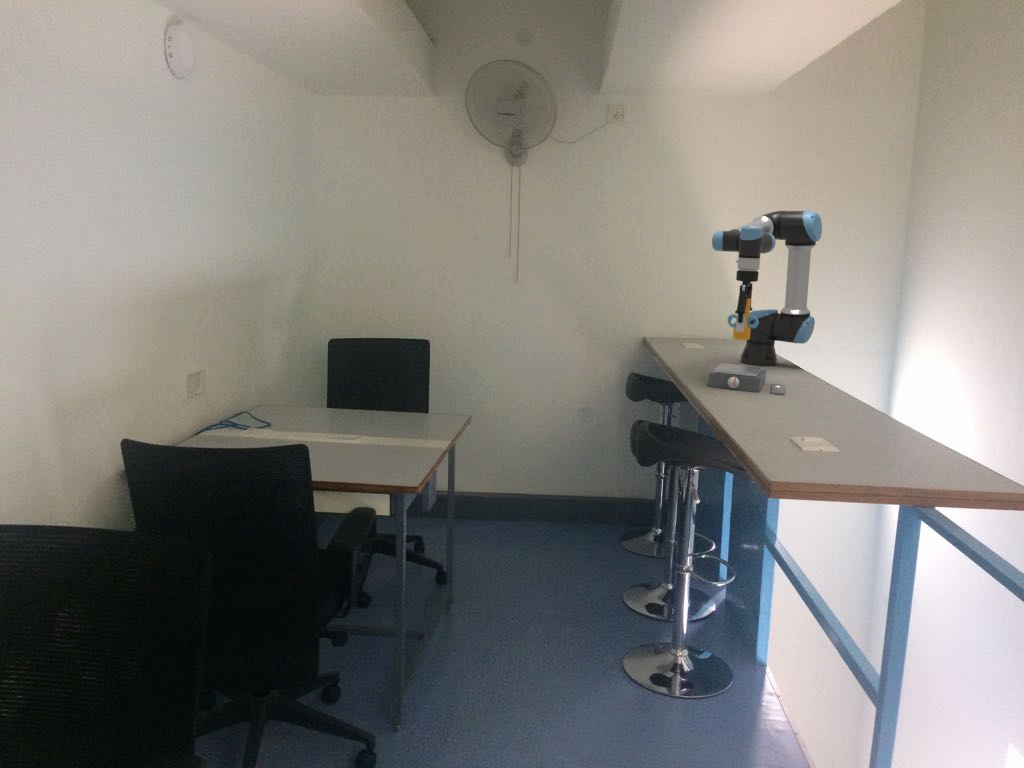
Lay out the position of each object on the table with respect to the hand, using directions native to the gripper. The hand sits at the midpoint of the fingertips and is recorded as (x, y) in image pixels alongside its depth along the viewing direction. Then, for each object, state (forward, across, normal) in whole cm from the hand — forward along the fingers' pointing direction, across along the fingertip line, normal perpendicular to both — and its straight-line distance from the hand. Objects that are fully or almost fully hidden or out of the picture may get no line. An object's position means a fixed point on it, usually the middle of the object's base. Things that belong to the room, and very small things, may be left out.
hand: (742, 330), depth 273 cm
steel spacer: (+21, +7, +15) cm, 26 cm away
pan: (+19, 0, 0) cm, 19 cm away
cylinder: (+3, 0, 0) cm, 3 cm away
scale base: (+20, 0, 0) cm, 20 cm away
